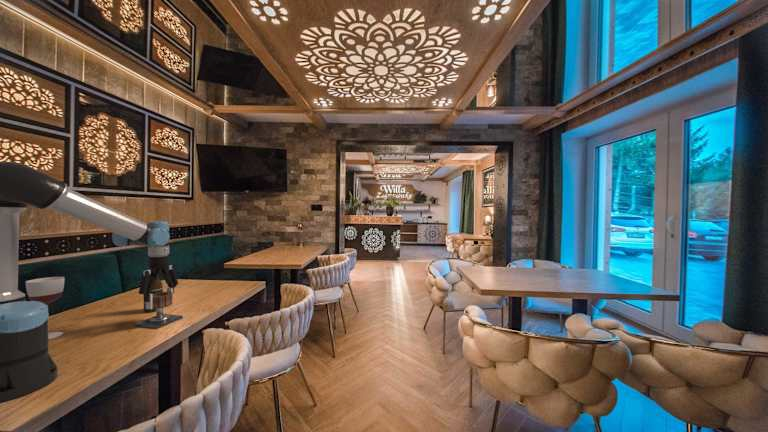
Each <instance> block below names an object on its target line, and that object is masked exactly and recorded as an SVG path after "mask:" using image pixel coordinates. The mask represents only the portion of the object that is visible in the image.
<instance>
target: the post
mask: <svg viewBox="0 0 768 432" xmlns="http://www.w3.org/2000/svg"><path fill="white" fill-rule="evenodd" d="M155 314H156V315H155V316H152V317H150V318H147V319H144V320H141V321H138V322H135V323H134V327H138V328H147V329H156V330H158V329H160V328H163V327H166V326H169V325H170V324H172V323H174V322H177V321H179V320H180V321H181V320H182V319H184V316H183V315H177V314H166V313H164V308H159V309H156V312H155Z"/></svg>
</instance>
